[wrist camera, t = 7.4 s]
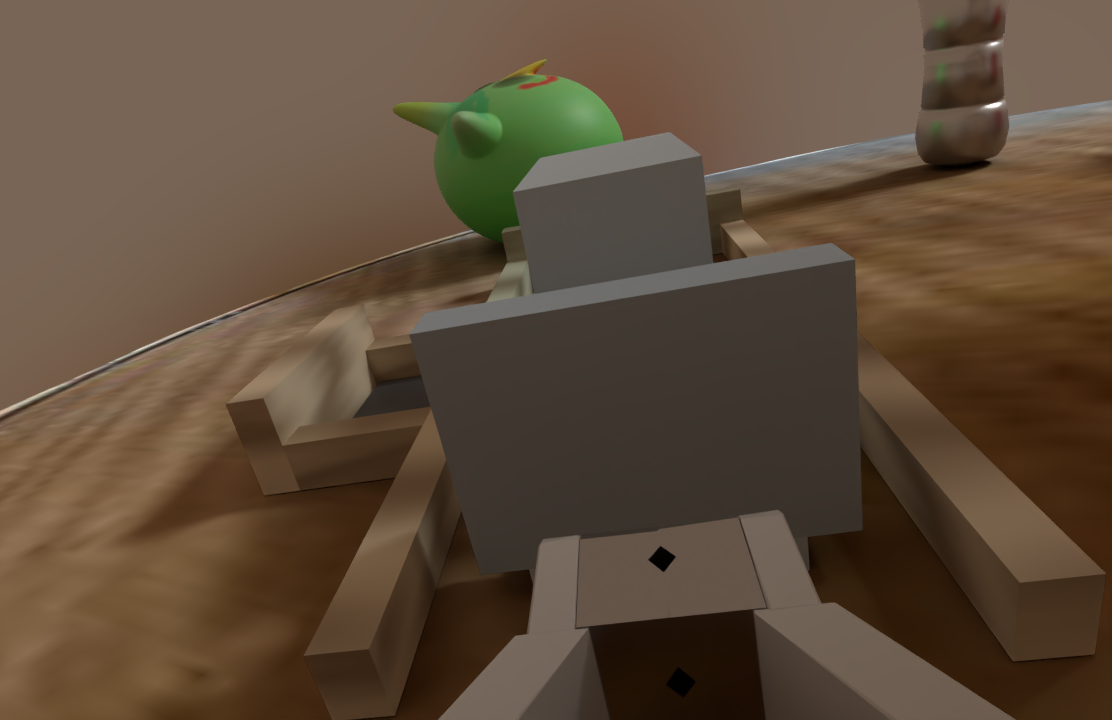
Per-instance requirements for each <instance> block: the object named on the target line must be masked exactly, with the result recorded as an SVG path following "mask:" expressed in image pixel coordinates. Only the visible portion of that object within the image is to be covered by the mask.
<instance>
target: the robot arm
mask: <svg viewBox="0 0 1112 720" xmlns="http://www.w3.org/2000/svg"><path fill="white" fill-rule="evenodd" d="M438 720H1015V719H1014V718H1012V717H1011V716H1009V715H1008V714H1006V713H1005V712H1003V711H1001V710H1000V709H998V708H997V707H995V706H994V705H992V704H991V703H989V702H988V701H986V700H985V699H983V698H981V697H980V696H978V695H977V694H975V693H974V692H972V691H971V690H969V689H968V688H966V687H965V686H963V685H961V684H960V683H958V682H957V681H955V680H954V679H952V678H951V677H949V676H948V675H946V674H945V673H943V672H941V671H940V670H938V669H937V668H935V667H934V666H932V665H931V664H929V663H928V662H926V661H924V660H923V659H921V658H920V657H918V656H917V655H915V654H914V653H912V652H911V651H909V650H908V649H906V648H904V647H903V646H901V645H900V644H898V643H897V642H895V641H894V640H892V639H891V638H889V637H888V636H886V635H884V634H883V633H881V632H880V631H878V630H877V629H875V628H874V627H872V626H871V625H869V624H868V623H866V622H864V621H863V620H861V619H860V618H858V617H857V616H855V615H854V614H852V613H851V612H849V611H848V610H846V609H844V608H843V607H841V606H840V605H838V604H837V603H823V604H821V601H820V599H819V597H818V594H817V592H816V589H815V587H814V585H813V582H812V580H811V578H810V575H809V573H808V571H807V568H806V566H805V564H804V561H803V559H802V557H801V554H800V552H799V550H798V547H797V545H796V543H795V540H794V538H793V536H792V533H791V531H790V529H789V526H788V524H787V522H786V519H785V517H784V514H783V513H782V512H780V511H779V510H773V511H766V512H760V513H753V514H747V515H740V516H738V517H737V518H729V519H721V520H713V521H705V522H697V523H689V524H681V525H674V526H666V527H651V528H641V529H631V530H621V531H611V532H602V533H592V534H582V535H581V536H579V535H574V536H566V537H557V538H549V539H543V540H542V542H541V544H540V545H539V548H538V555H537V562H536V570H535V577H534V585H533V592H532V599H531V607H530V614H529V622H528V629H527V634H526V635H517V636H514V637H513V638H512V640H511V641H510V642H509V643H508V644H507V645H506V646H505V647H504V648H503V649H502V650H501V652H500V653H499V654H498V655H497V656H496V657H495V658H494V659H493V660H492V661H491V662H490V664H489V665H488V666H487V667H486V668H485V669H484V670H483V671H482V672H481V673H480V674H479V676H478V677H477V678H476V679H475V680H474V681H473V682H472V683H471V684H470V685H469V686H468V688H467V689H466V690H465V691H464V692H463V693H462V694H461V695H460V696H459V697H458V698H457V700H456V701H455V702H454V703H453V704H452V705H451V706H450V707H449V708H448V709H447V710H446V712H445V713H444V714H443V715H442V716H441V717H440V718H439V719H438Z"/></svg>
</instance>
